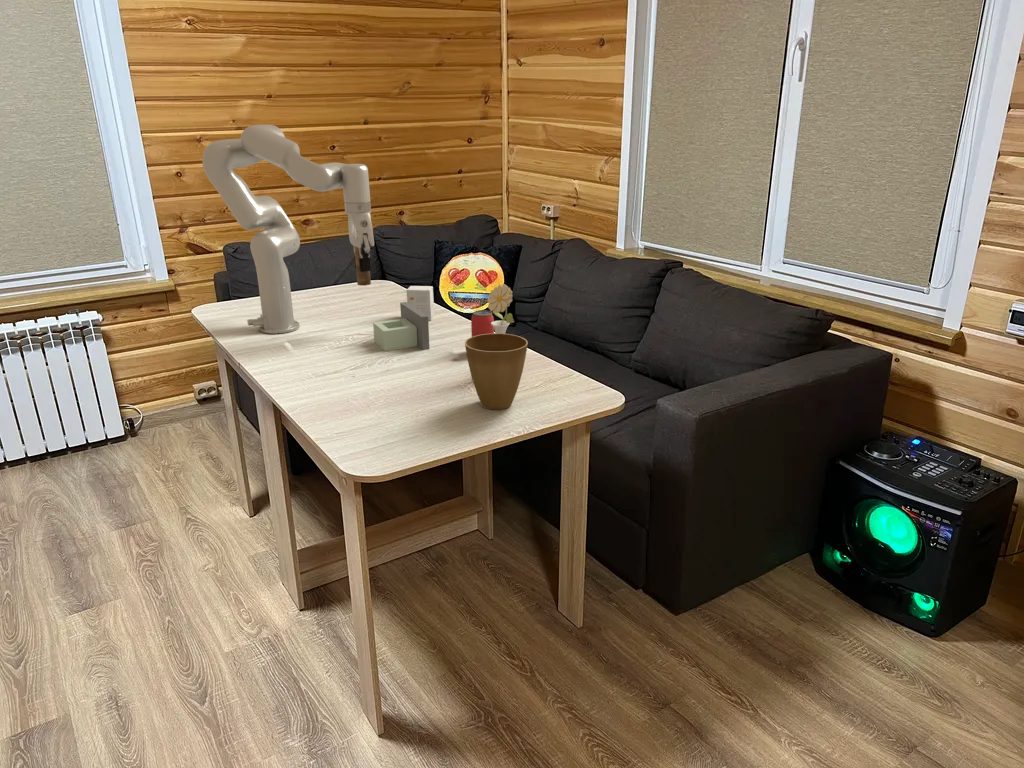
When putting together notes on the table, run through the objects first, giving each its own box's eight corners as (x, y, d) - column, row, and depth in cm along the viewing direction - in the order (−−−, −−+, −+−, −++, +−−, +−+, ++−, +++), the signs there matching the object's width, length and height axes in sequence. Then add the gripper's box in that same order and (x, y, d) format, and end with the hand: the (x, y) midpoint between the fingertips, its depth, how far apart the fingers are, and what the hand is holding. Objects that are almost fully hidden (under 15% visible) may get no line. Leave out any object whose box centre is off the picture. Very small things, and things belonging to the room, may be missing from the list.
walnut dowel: (359, 286, 225) (356, 246, 220) (355, 283, 228) (352, 243, 223) (372, 284, 226) (369, 244, 222) (368, 281, 230) (365, 242, 225)
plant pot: (535, 411, 178) (536, 348, 173) (474, 419, 174) (473, 354, 169) (517, 389, 192) (517, 330, 186) (460, 396, 188) (458, 335, 182)
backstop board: (356, 364, 210) (353, 326, 206) (338, 346, 225) (335, 310, 221) (429, 352, 219) (428, 316, 215) (408, 336, 234) (406, 301, 230)
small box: (434, 316, 255) (433, 285, 251) (431, 320, 250) (430, 290, 246) (411, 315, 256) (410, 285, 252) (407, 320, 251) (406, 289, 247)
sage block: (385, 351, 217) (383, 331, 215) (374, 341, 225) (373, 322, 223) (417, 346, 221) (416, 326, 219) (405, 337, 230) (404, 318, 227)
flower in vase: (473, 367, 207) (471, 279, 198) (511, 362, 211) (511, 275, 202) (491, 383, 196) (490, 290, 187) (530, 377, 200) (531, 285, 191)
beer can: (498, 351, 220) (498, 312, 215) (483, 357, 215) (482, 317, 211) (483, 347, 224) (482, 308, 220) (467, 352, 219) (466, 312, 215)
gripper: (379, 210, 214) (384, 273, 220) (361, 203, 227) (366, 263, 234) (353, 212, 210) (359, 276, 217) (337, 205, 224) (342, 266, 231)
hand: (362, 269), depth 225 cm, fingers closed on walnut dowel, 4 cm apart
